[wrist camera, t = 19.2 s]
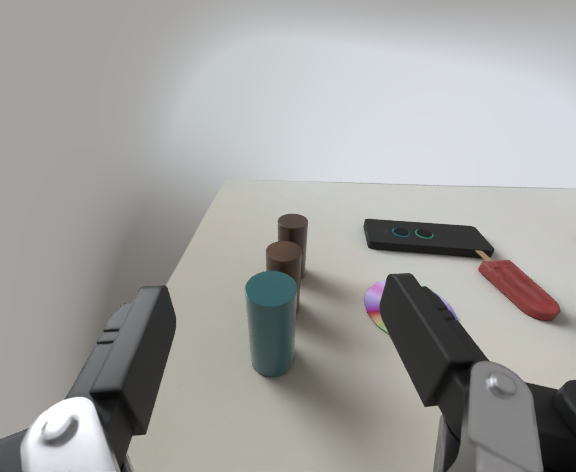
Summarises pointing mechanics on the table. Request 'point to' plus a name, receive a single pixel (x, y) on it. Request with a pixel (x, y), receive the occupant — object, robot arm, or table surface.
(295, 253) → the brown wooden cylinder
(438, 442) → the robot arm
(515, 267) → the popsicle
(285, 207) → the table surface
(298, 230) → the cylinder
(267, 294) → the teal cylinder
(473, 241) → the smart home device
